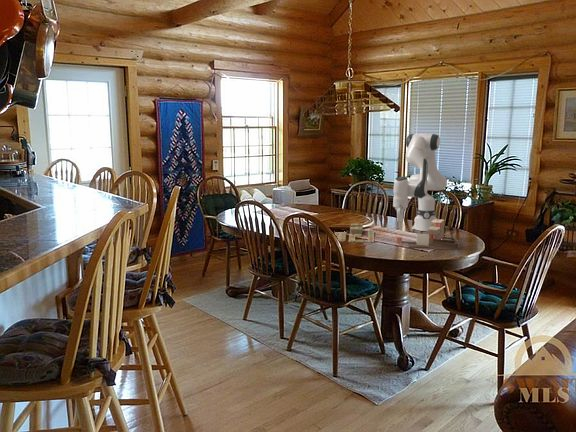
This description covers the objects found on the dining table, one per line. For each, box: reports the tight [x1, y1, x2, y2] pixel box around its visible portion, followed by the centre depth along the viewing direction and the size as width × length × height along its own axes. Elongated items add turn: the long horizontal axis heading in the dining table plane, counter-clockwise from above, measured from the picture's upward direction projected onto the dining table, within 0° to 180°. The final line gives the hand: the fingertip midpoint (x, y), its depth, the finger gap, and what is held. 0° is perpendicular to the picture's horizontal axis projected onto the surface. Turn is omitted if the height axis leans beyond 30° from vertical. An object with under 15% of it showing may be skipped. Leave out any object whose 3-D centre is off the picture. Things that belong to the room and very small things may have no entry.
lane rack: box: [407, 237, 459, 251], centre depth 303 cm, size 12×28×5 cm, turn 78°
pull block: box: [396, 233, 429, 246], centre depth 305 cm, size 6×19×6 cm, turn 78°
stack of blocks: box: [427, 218, 446, 243], centre depth 318 cm, size 21×6×12 cm, turn 152°
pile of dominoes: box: [334, 223, 375, 244], centre depth 333 cm, size 35×27×6 cm
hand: (399, 225), depth 306 cm, fingers open, 8 cm apart
